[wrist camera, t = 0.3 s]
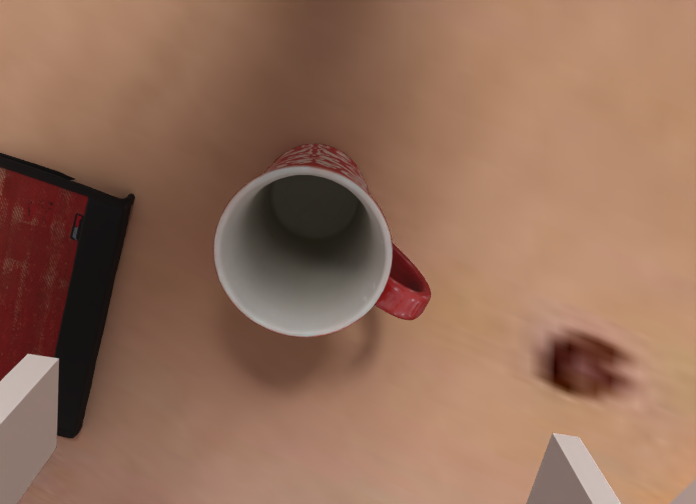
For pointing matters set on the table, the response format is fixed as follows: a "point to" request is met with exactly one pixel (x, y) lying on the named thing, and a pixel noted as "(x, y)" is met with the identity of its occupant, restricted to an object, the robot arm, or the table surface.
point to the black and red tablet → (56, 275)
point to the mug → (312, 248)
